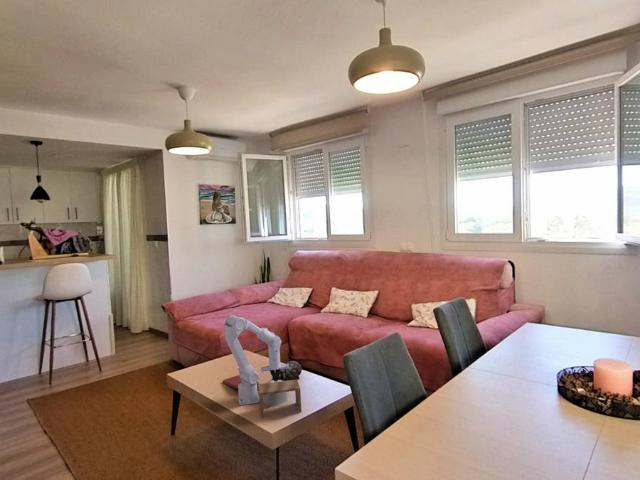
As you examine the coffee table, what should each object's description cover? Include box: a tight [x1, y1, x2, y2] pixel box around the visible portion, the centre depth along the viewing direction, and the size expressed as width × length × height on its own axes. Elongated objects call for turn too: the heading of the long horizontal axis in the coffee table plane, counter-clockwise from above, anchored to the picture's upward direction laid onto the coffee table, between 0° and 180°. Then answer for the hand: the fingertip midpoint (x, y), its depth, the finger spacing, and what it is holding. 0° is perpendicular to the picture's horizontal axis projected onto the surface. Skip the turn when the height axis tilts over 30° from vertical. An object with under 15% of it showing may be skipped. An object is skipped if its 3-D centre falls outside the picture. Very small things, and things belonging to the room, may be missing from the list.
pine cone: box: [271, 360, 303, 381], centre depth 216 cm, size 10×18×10 cm, turn 139°
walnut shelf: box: [258, 379, 302, 419], centre depth 183 cm, size 18×10×12 cm, turn 102°
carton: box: [222, 375, 260, 393], centre depth 213 cm, size 12×5×25 cm
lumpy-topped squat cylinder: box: [263, 380, 290, 407], centre depth 194 cm, size 10×13×9 cm
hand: (275, 383), depth 204 cm, fingers closed
